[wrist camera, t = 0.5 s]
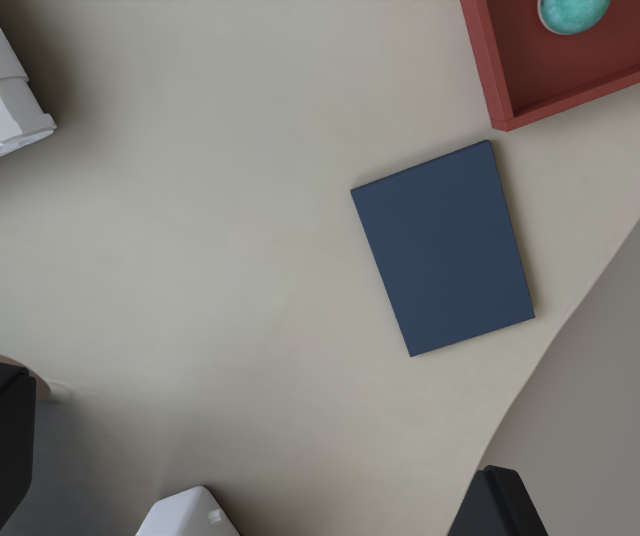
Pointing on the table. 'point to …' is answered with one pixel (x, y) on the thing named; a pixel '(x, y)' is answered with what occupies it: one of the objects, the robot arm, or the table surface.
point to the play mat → (446, 248)
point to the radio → (187, 516)
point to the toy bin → (549, 59)
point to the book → (18, 105)
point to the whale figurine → (571, 14)
